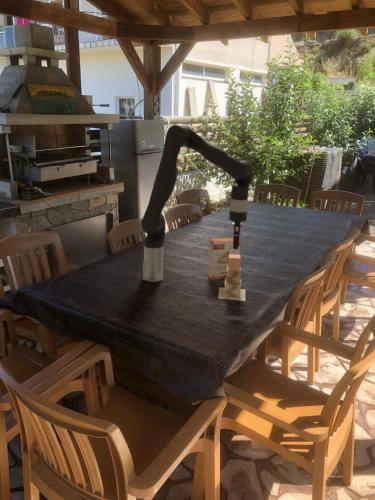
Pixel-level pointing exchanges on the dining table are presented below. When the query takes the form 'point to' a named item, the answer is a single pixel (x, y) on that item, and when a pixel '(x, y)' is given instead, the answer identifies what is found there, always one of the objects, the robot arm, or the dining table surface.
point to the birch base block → (232, 290)
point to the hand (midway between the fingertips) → (235, 245)
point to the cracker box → (220, 257)
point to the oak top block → (233, 277)
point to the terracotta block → (234, 262)
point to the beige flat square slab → (221, 296)
